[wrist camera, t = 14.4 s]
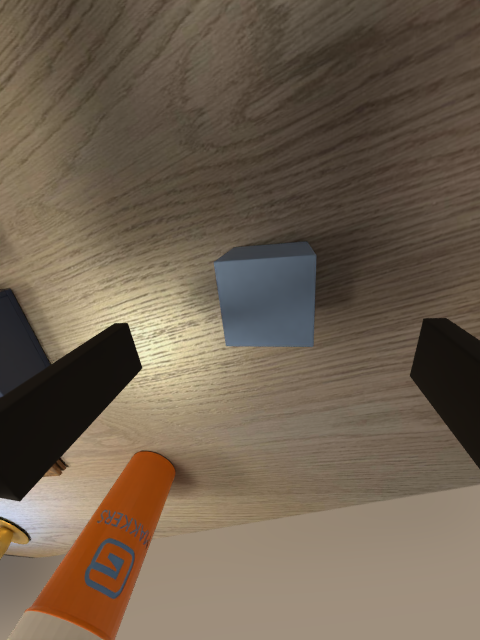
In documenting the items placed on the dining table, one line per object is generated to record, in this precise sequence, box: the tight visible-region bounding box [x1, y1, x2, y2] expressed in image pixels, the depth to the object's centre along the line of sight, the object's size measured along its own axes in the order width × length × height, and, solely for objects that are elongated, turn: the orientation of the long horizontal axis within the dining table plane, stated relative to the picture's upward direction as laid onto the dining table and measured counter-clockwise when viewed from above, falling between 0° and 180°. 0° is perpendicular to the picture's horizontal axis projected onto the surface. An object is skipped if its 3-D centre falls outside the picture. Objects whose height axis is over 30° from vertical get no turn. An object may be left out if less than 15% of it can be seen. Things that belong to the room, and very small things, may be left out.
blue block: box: [214, 241, 316, 347], centre depth 17 cm, size 6×6×6 cm
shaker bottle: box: [7, 451, 175, 640], centre depth 27 cm, size 9×9×20 cm
